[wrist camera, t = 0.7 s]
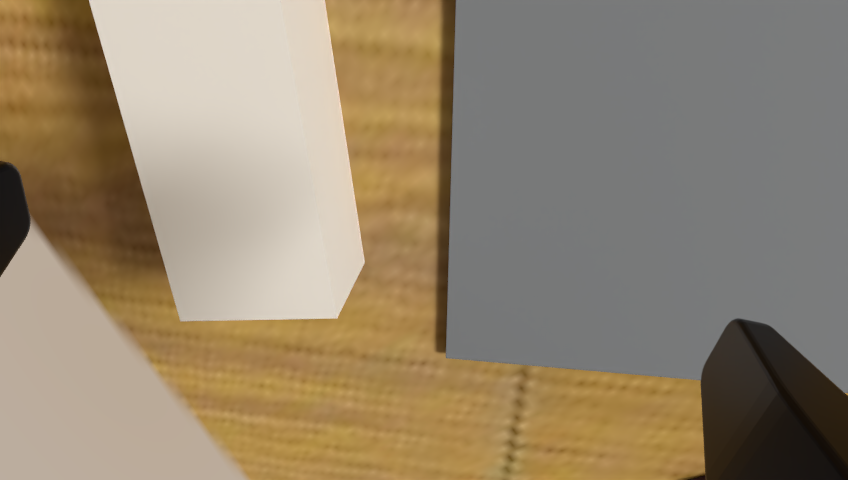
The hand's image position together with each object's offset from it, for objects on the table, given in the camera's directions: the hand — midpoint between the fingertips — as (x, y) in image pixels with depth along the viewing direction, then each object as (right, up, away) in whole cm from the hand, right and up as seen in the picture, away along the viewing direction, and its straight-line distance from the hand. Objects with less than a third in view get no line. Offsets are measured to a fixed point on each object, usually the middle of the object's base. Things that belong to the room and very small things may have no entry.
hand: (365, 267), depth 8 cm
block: (-4, +4, +13) cm, 15 cm away
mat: (+9, +4, +11) cm, 15 cm away
